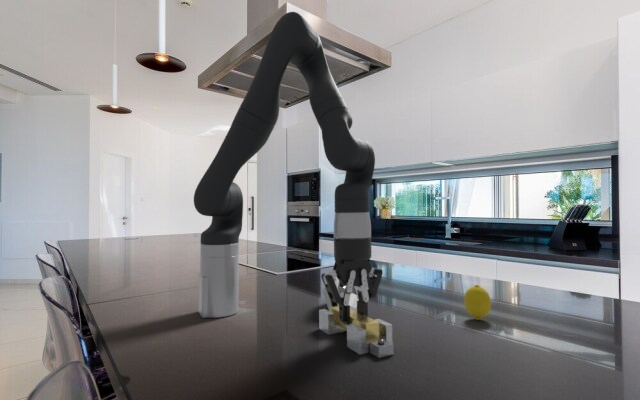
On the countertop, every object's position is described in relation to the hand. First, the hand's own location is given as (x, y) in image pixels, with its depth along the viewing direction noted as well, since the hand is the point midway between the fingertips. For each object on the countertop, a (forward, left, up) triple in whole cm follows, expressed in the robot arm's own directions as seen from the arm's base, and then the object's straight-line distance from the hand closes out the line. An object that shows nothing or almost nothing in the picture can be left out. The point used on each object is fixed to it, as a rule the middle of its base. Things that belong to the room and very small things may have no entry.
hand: (353, 321), depth 67 cm
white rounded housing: (+8, +19, -3) cm, 21 cm away
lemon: (+31, -5, -3) cm, 31 cm away
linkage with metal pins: (0, 0, -3) cm, 3 cm away
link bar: (0, 0, -2) cm, 2 cm away
